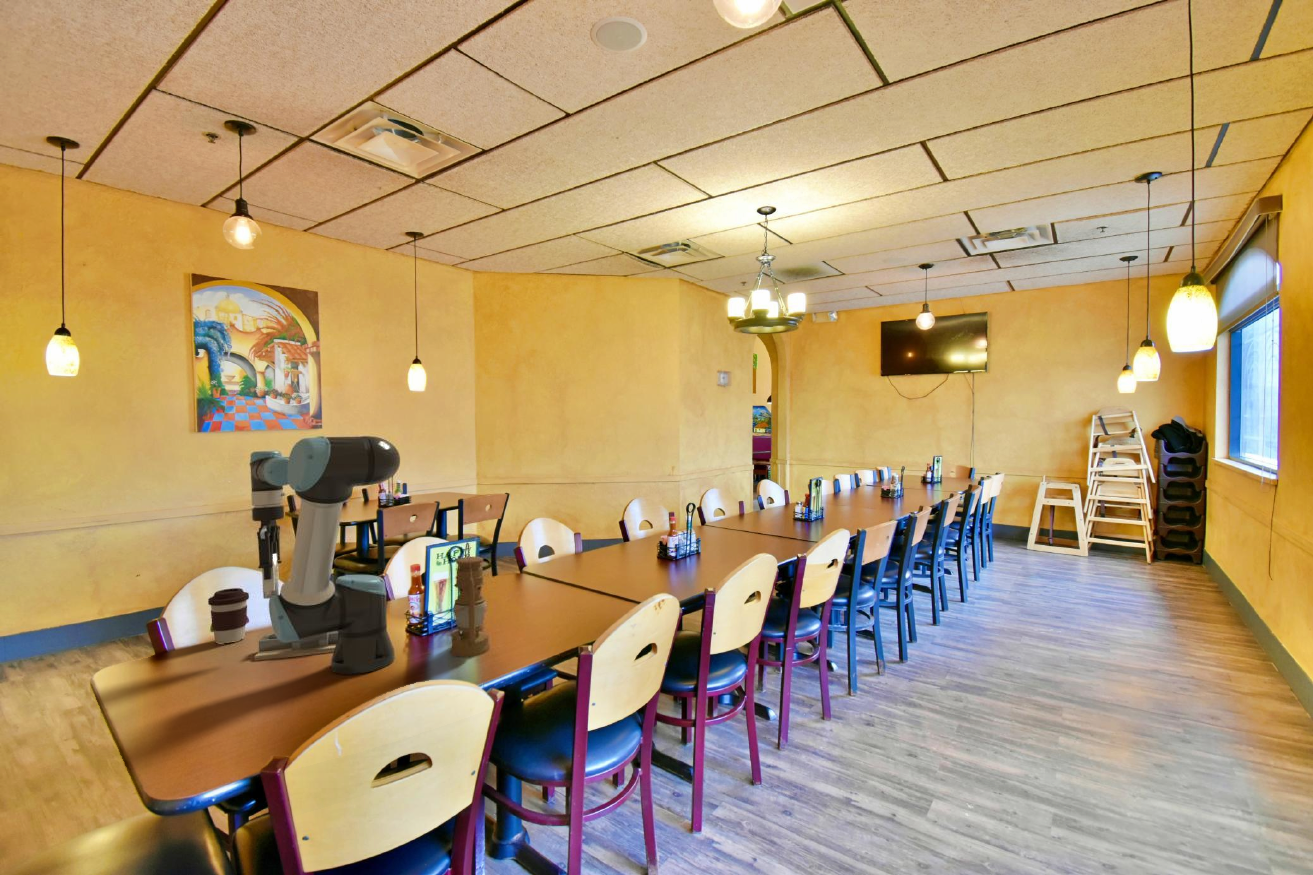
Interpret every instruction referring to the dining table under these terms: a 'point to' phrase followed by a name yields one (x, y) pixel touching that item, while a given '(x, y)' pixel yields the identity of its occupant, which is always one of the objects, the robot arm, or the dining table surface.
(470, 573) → the lantern
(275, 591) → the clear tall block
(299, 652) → the chain bed
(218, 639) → the coffee cup
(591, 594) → the dining table surface
